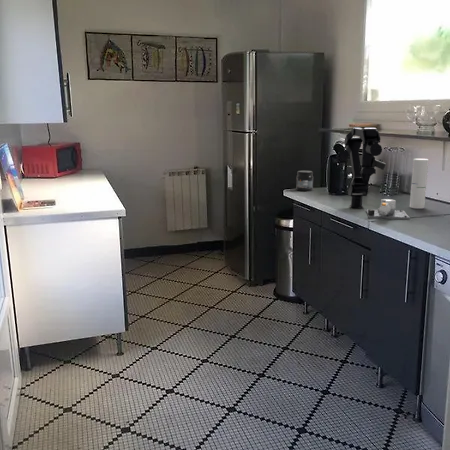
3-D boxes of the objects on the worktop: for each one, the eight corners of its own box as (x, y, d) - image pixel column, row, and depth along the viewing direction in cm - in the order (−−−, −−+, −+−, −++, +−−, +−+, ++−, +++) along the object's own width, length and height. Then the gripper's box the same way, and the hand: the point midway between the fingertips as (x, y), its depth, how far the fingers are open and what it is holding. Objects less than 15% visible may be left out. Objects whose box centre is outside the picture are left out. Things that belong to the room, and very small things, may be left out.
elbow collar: (380, 210, 239) (381, 198, 238) (395, 212, 236) (396, 199, 234) (374, 217, 225) (375, 203, 223) (390, 218, 222) (391, 204, 220)
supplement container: (305, 188, 317) (305, 170, 314) (316, 190, 308) (317, 171, 305) (292, 189, 311) (293, 171, 308) (303, 192, 303) (304, 172, 300)
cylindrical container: (413, 205, 259) (417, 158, 254) (426, 207, 254) (431, 159, 249) (407, 207, 254) (411, 159, 249) (420, 209, 249) (424, 160, 244)
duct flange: (365, 211, 244) (365, 204, 243) (403, 212, 241) (404, 205, 240) (368, 218, 229) (368, 210, 228) (409, 219, 225) (410, 212, 225)
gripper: (388, 156, 225) (385, 189, 229) (383, 152, 243) (380, 183, 247) (363, 155, 227) (361, 188, 231) (360, 152, 245) (358, 183, 249)
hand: (366, 186), depth 239 cm, fingers closed
